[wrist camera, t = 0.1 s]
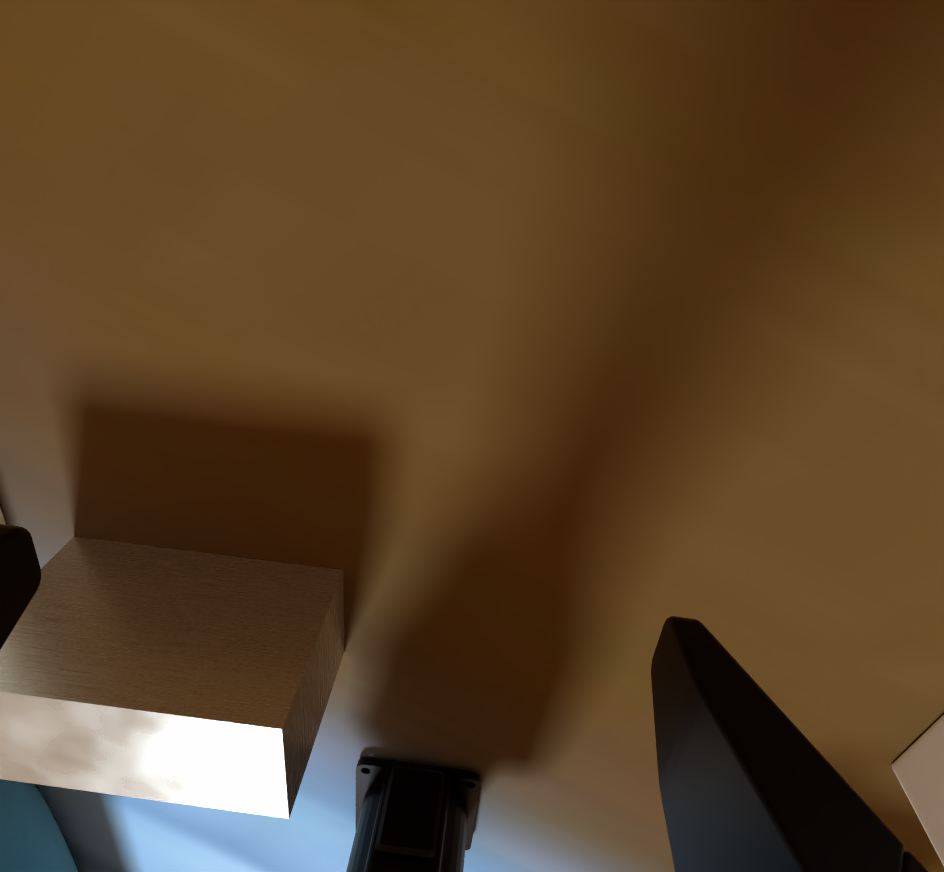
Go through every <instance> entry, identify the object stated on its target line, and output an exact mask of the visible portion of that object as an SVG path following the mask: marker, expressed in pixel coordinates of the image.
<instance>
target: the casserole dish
mask: <svg viewBox="0 0 944 872" xmlns="http://www.w3.org/2000/svg"><path fill="white" fill-rule="evenodd" d="M0 872H78V870H77V867H76V865H75V863H74V860H73V858H72V855H71V853H70V851H69V849H68V846H67V844H66V842H65V840H64V838H63V835H62V833H61V831H60V829H59V827H58V825H57V823H56V821H55V819H54V817H53V815H52V813H51V811H50V809H49V807H48V805H47V803H46V801H45V800H44V798H43V796H42V794H41V793H40V792H39V790H38V789H37V787H36V786H35V785H34V784H32V783H25V782H18V781H11V780H3V779H0Z"/></svg>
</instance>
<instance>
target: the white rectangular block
mask: <svg viewBox="0 0 944 872" xmlns="http://www.w3.org/2000/svg"><path fill="white" fill-rule="evenodd" d="M343 654H344V570H338V569H330V568H322V567H314V566H306V565H298V564H290V563H282V562H274V561H267V560H259V559H251V558H243V557H235V556H227V555H219V554H211V553H203V552H195V551H187V550H179V549H172V548H164V547H156V546H148V545H140V544H132V543H124V542H116V541H108V540H100V539H92V538H84V537H76V536H74V537H73V538H72V539H71V540H70V541H69V542H68V543H67V544H66V545H65V546H64V547H63V548H62V549H61V550H60V551H59V552H58V553H57V554H56V555H55V556H54V557H53V558H52V559H51V560H50V561H49V562H48V563H47V564H46V565H45V566H44V567H43V568H42V569H41V581H40V585H39V587H38V590H37V592H36V593H35V595H34V596H33V598H32V600H31V601H30V603H29V604H28V606H27V608H26V609H25V611H24V613H23V614H22V616H21V617H20V619H19V621H18V622H17V624H16V625H15V627H14V629H13V630H12V632H11V634H10V635H9V637H8V638H7V640H6V642H5V643H4V645H3V647H2V648H1V650H0V779H3V780H11V781H18V782H25V783H32V784H40V785H47V786H54V787H61V788H69V789H76V790H83V791H91V792H98V793H105V794H112V795H120V796H127V797H134V798H141V799H149V800H156V801H163V802H170V803H178V804H185V805H192V806H199V807H207V808H214V809H221V810H229V811H236V812H243V813H250V814H258V815H265V816H272V817H279V818H287V819H289V817H290V814H291V811H292V808H293V805H294V802H295V799H296V796H297V793H298V790H299V787H300V784H301V781H302V778H303V775H304V772H305V769H306V766H307V763H308V760H309V757H310V754H311V751H312V748H313V745H314V742H315V739H316V736H317V733H318V730H319V727H320V724H321V721H322V718H323V715H324V712H325V709H326V706H327V703H328V700H329V696H330V693H331V690H332V687H333V684H334V681H335V678H336V675H337V672H338V669H339V666H340V663H341V660H342V657H343Z"/></svg>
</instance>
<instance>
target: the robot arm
mask: <svg viewBox="0 0 944 872" xmlns="http://www.w3.org/2000/svg"><path fill="white" fill-rule="evenodd" d="M40 581H41V569H40V565H39V561H38V558H37V554H36V551H35V547H34V544H33V540H32V537H31V534H30V533H29V532H28V531H27V529H25V528H23V527H18V526H11V525H4V524H0V650H1V648H2V647H3V645H4V643H5V642H6V640H7V638H8V637H9V635H10V634H11V632H12V630H13V629H14V627H15V625H16V624H17V622H18V621H19V619H20V617H21V616H22V614H23V613H24V611H25V609H26V608H27V606H28V604H29V603H30V601H31V600H32V598H33V596H34V595H35V593H36V592H37V590H38V587H39V585H40ZM651 679H652V693H653V707H654V721H655V735H656V749H657V762H658V774H659V784H660V790H661V797H662V803H663V808H664V814H665V819H666V825H667V830H668V835H669V841H670V846H671V852H672V857H673V863H674V868H675V872H928V871H927V870H926V869H925V868H924V866H923V865H922V864H921V863H920V862H919V861H918V860H917V859H916V858H915V857H914V855H913V854H912V853H910V852H904V850H905V848H904V845H903V844H902V843H901V841H900V840H899V839H898V838H897V837H896V836H895V835H894V834H893V833H892V832H891V831H890V829H889V828H888V827H887V826H886V825H885V824H884V823H883V822H882V821H881V820H880V818H879V817H878V816H877V815H876V814H875V813H874V812H873V811H872V810H871V809H870V807H869V806H868V805H867V804H866V803H865V802H864V801H863V800H862V799H861V798H860V796H859V795H858V794H857V793H856V792H855V791H854V790H853V789H852V788H851V787H850V785H849V784H848V783H847V782H846V781H845V780H844V779H843V778H842V777H841V776H840V774H839V773H838V772H837V771H836V770H835V769H834V768H833V767H832V766H831V765H830V763H829V762H828V761H827V760H826V759H825V758H824V757H823V756H822V755H821V754H820V752H819V751H818V750H817V749H816V748H815V747H814V746H813V745H812V744H811V743H810V741H809V740H808V739H807V738H806V737H805V736H804V735H803V734H802V733H801V732H800V730H799V729H798V728H797V727H796V726H795V725H794V724H793V723H792V722H791V721H790V720H789V718H788V717H787V716H786V715H785V714H784V713H783V712H782V711H781V710H780V709H779V707H778V706H777V705H776V704H775V703H774V702H773V701H772V700H771V699H770V698H769V696H768V695H767V694H766V693H765V692H764V691H763V690H762V689H761V688H760V687H759V685H758V684H757V683H756V682H755V681H754V680H753V679H752V678H751V677H750V676H749V674H748V673H747V672H746V671H745V670H744V669H743V668H742V667H741V666H740V665H739V663H738V662H737V661H736V660H735V659H734V658H733V657H732V656H731V655H730V654H729V652H728V651H727V650H726V649H725V648H724V647H723V646H722V645H721V644H720V643H719V641H718V640H717V639H716V638H715V637H714V636H713V635H712V634H711V633H710V632H709V630H708V629H707V628H706V627H705V626H704V625H703V624H702V623H701V622H700V621H698V620H695V619H690V618H683V617H675V616H671V617H669V618H667V620H666V621H665V623H664V626H663V629H662V632H661V635H660V638H659V641H658V643H657V646H656V649H655V652H654V655H653V659H652V666H651ZM480 783H481V777H480V776H479V774H477V773H474V772H469V771H462V770H454V769H447V768H439V767H432V766H425V765H417V764H410V763H402V762H395V761H387V760H380V759H373V758H361V759H360V760H359V761H358V764H357V768H356V833H355V837H354V842H353V846H352V850H351V854H350V858H349V863H348V867H347V871H346V872H463V867H464V856H465V850H468V849H470V847H471V842H472V836H473V830H474V823H475V817H476V810H477V804H478V798H479V791H480Z"/></svg>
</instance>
